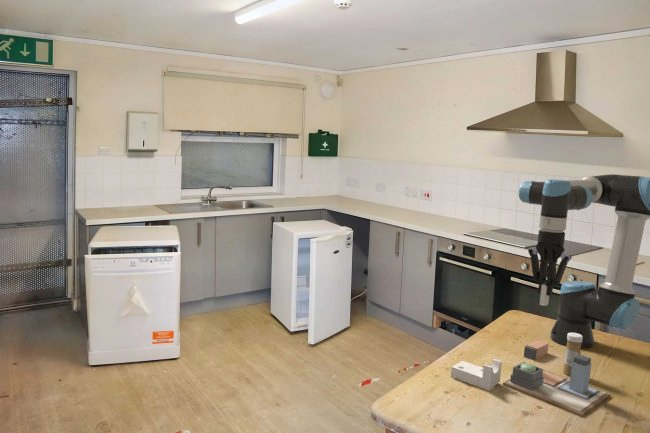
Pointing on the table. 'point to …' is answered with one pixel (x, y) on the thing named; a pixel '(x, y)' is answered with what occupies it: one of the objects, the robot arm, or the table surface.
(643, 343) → the table surface
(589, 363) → the grey square prism
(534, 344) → the terracotta marker
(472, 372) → the bracket
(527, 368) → the button
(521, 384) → the button housing
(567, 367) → the sprinkles bottle
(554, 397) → the wood rimmed sorting board
